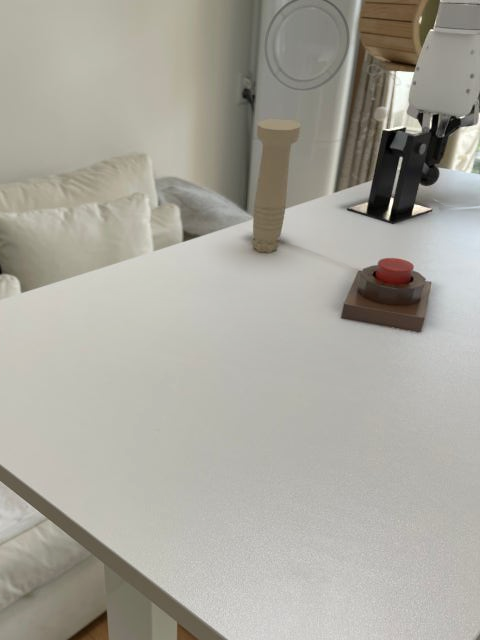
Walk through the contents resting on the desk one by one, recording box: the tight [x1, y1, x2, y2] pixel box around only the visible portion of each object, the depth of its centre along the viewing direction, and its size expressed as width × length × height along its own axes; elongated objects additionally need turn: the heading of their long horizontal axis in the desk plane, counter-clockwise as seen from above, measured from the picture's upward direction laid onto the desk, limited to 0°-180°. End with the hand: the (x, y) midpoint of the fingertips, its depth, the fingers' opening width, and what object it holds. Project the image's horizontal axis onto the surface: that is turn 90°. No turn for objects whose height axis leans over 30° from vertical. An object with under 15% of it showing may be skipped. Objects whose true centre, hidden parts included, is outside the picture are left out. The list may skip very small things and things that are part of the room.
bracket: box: [346, 126, 433, 225], centre depth 93 cm, size 10×8×12 cm
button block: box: [340, 264, 432, 333], centre depth 69 cm, size 10×8×4 cm
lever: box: [390, 131, 440, 187], centre depth 94 cm, size 13×3×3 cm
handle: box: [252, 118, 301, 254], centre depth 80 cm, size 5×6×15 cm
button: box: [375, 257, 415, 285], centre depth 68 cm, size 4×4×2 cm
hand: (429, 163), depth 97 cm, fingers closed
